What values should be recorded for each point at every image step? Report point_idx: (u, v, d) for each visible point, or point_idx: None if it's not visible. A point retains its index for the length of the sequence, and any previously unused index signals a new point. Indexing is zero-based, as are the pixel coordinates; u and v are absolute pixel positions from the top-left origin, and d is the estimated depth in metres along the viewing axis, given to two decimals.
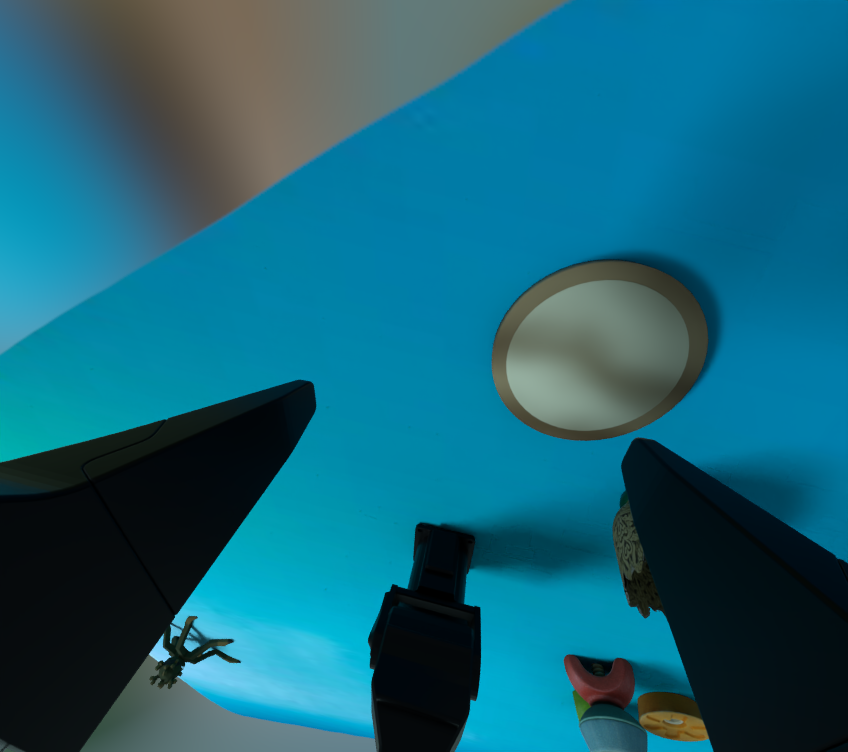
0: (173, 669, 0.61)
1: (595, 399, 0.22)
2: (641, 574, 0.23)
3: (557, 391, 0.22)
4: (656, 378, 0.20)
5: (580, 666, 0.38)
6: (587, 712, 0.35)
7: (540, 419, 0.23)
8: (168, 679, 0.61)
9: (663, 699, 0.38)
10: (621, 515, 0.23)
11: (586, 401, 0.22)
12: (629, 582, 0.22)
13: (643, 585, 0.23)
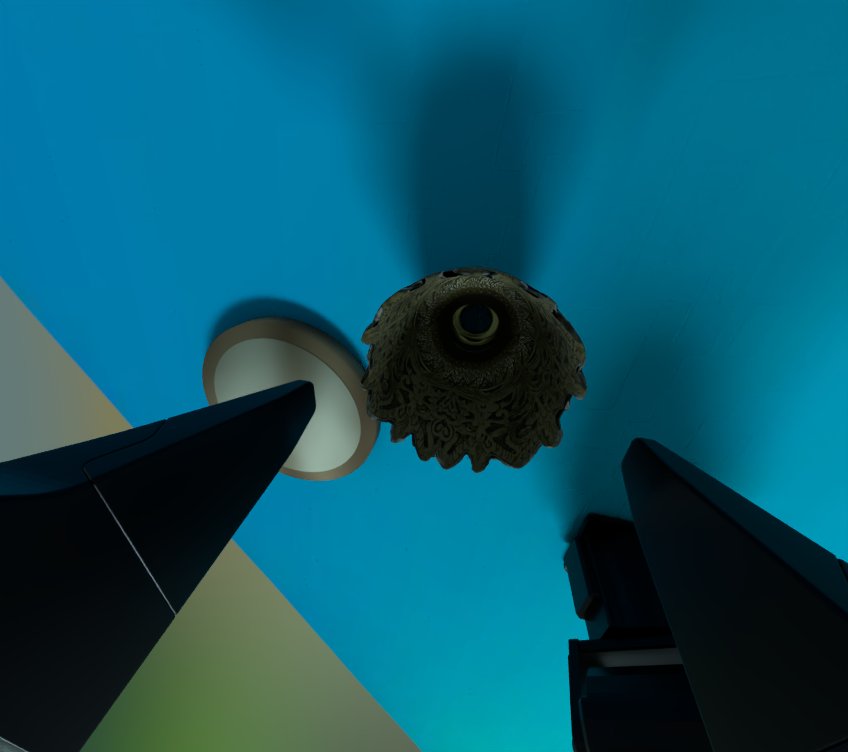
0: None
1: (319, 406, 0.20)
2: (543, 380, 0.12)
3: (319, 436, 0.22)
4: (282, 358, 0.19)
5: None
6: None
7: (356, 448, 0.22)
8: None
9: None
10: None
11: (324, 412, 0.21)
12: (522, 426, 0.12)
13: (546, 394, 0.12)
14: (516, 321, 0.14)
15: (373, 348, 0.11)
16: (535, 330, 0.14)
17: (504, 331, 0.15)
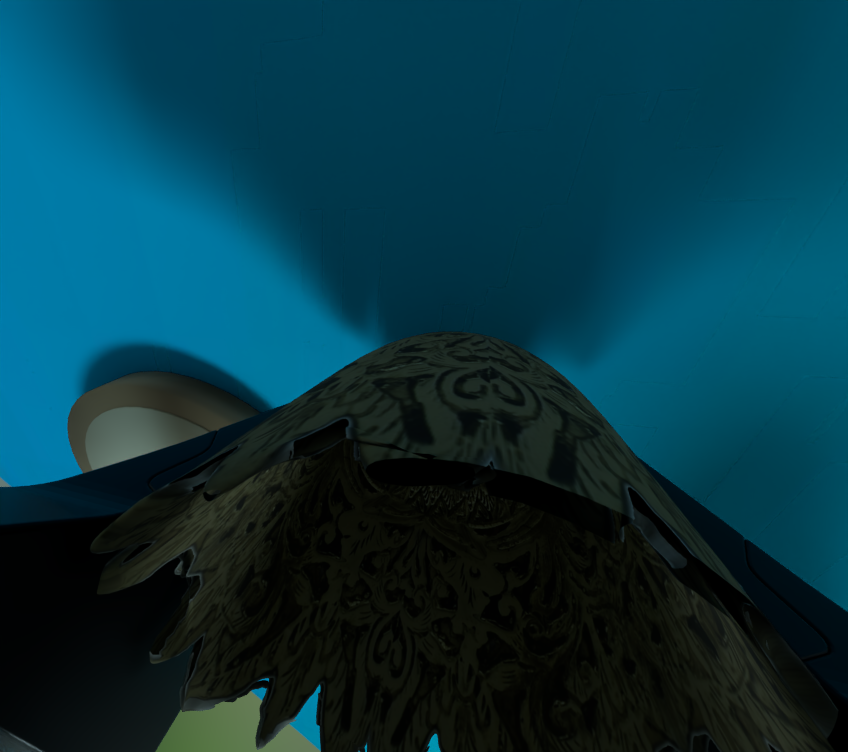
0: None
1: None
2: (601, 574, 0.06)
3: None
4: (172, 435, 0.13)
5: None
6: None
7: None
8: None
9: None
10: (409, 528, 0.09)
11: None
12: (557, 687, 0.05)
13: (615, 631, 0.05)
14: None
15: None
16: None
17: None
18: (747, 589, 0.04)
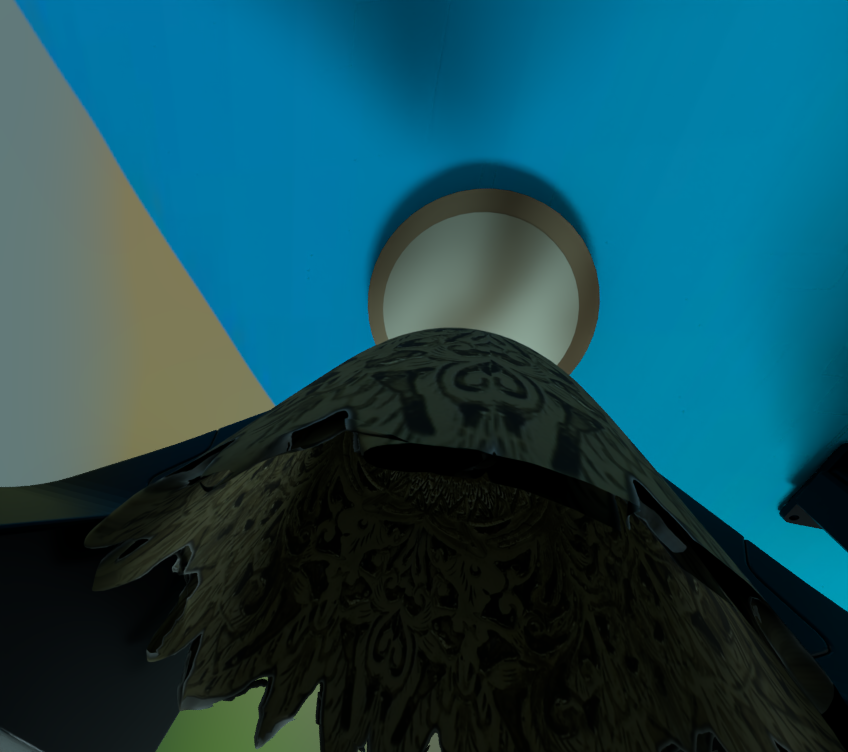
0: None
1: (524, 306, 0.17)
2: (603, 572, 0.06)
3: None
4: (493, 241, 0.16)
5: None
6: None
7: None
8: None
9: None
10: None
11: (528, 315, 0.17)
12: (559, 685, 0.05)
13: (617, 628, 0.05)
14: None
15: None
16: None
17: None
18: None
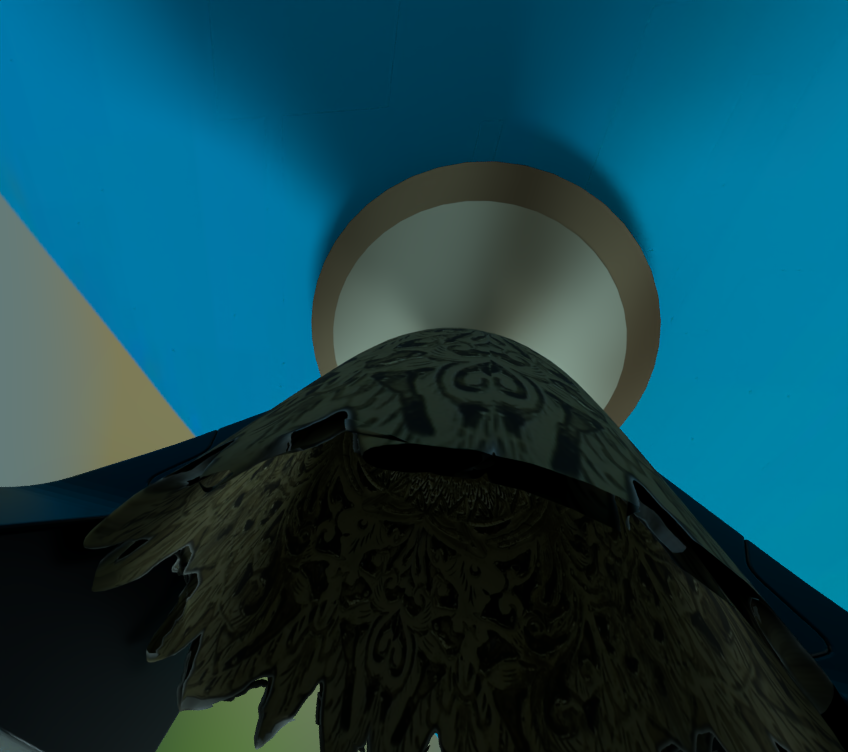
0: None
1: (541, 346, 0.11)
2: (603, 572, 0.06)
3: None
4: (494, 247, 0.10)
5: None
6: None
7: None
8: None
9: None
10: None
11: None
12: (559, 686, 0.05)
13: (616, 628, 0.05)
14: None
15: None
16: None
17: None
18: None
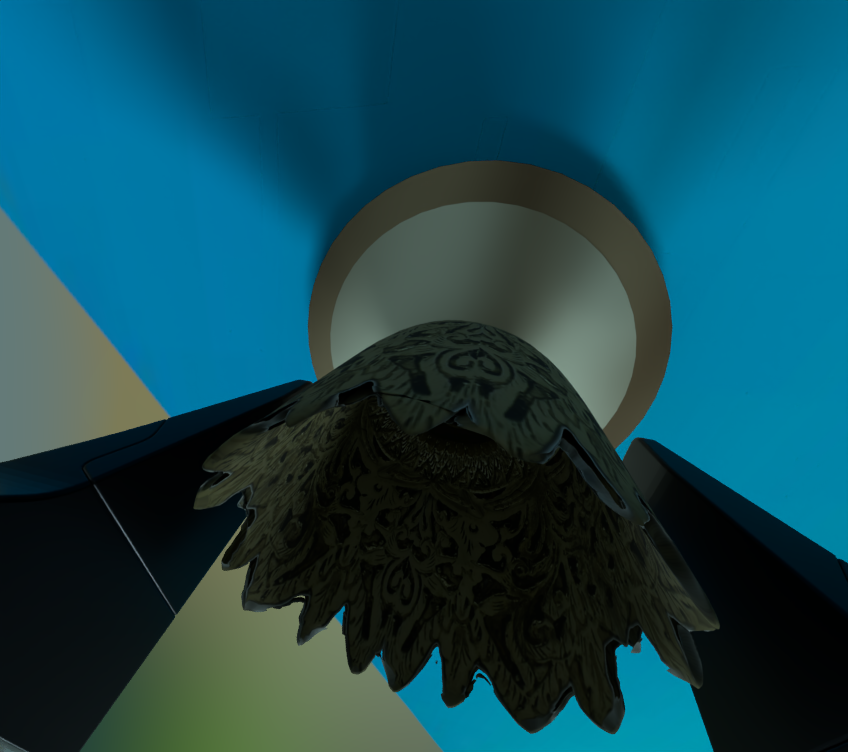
0: None
1: (547, 353, 0.10)
2: (576, 524, 0.07)
3: None
4: (498, 250, 0.09)
5: None
6: None
7: None
8: None
9: None
10: None
11: None
12: (536, 611, 0.07)
13: (583, 565, 0.06)
14: None
15: None
16: None
17: None
18: None
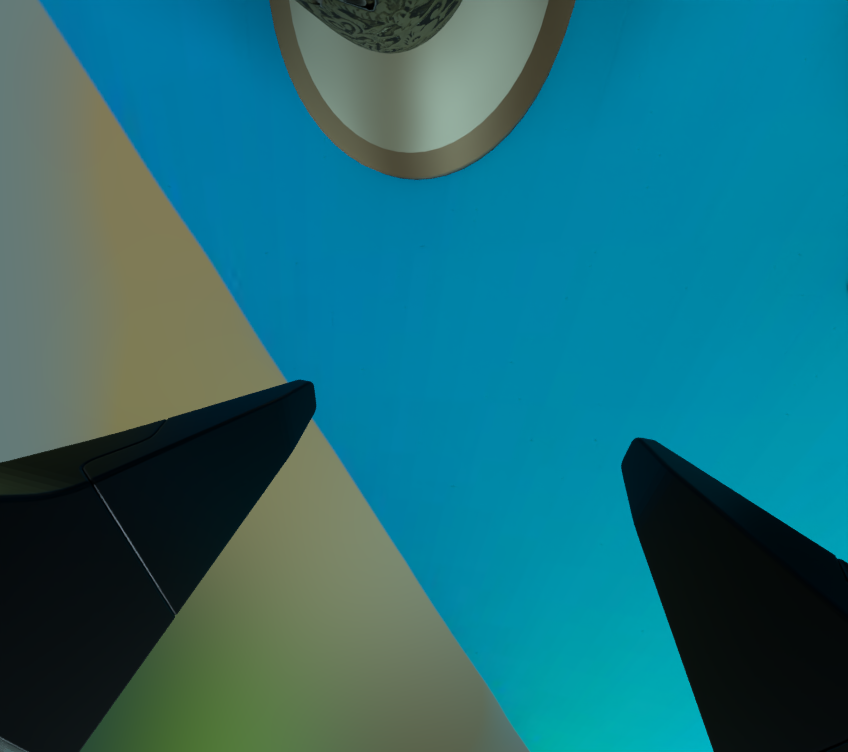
0: None
1: None
2: None
3: (467, 34, 0.13)
4: None
5: None
6: None
7: (531, 51, 0.13)
8: None
9: None
10: (366, 48, 0.11)
11: None
12: None
13: None
14: None
15: None
16: None
17: None
18: None
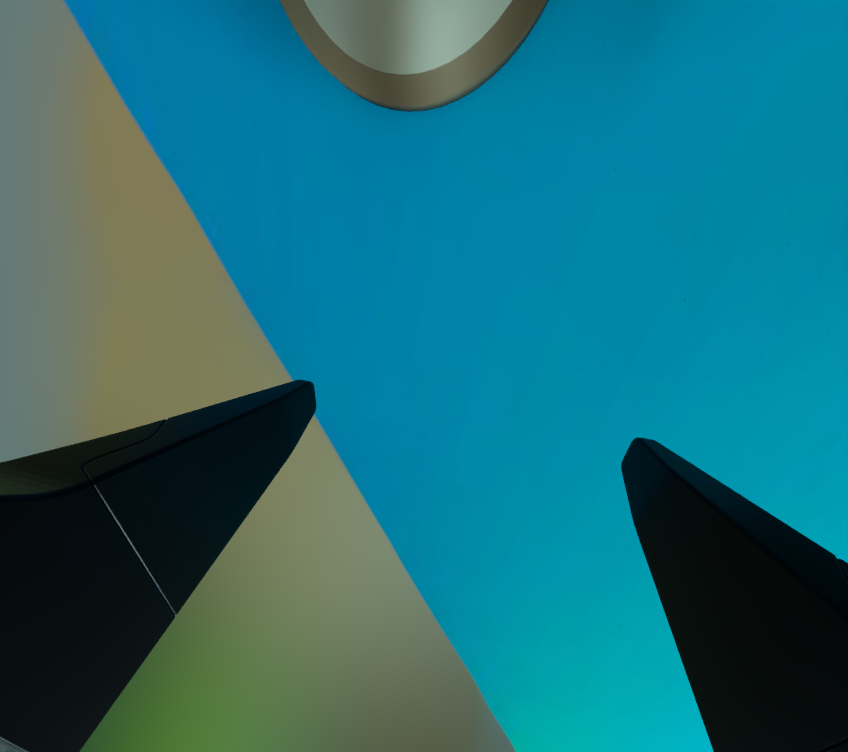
0: None
1: None
2: None
3: None
4: None
5: None
6: None
7: None
8: None
9: None
10: None
11: None
12: None
13: None
14: None
15: None
16: None
17: None
18: None
